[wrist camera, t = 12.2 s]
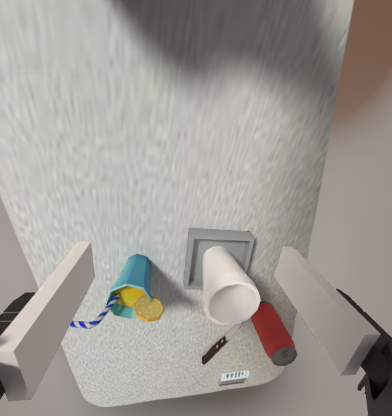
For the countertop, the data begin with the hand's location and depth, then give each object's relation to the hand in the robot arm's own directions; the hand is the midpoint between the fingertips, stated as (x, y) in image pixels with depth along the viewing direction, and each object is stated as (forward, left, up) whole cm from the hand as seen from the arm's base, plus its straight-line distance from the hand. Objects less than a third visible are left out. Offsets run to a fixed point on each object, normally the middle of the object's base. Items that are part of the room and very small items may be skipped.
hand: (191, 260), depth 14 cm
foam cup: (+17, +10, -26) cm, 32 cm away
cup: (+20, -8, -27) cm, 34 cm away
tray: (+17, +10, -26) cm, 33 cm away
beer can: (+34, +25, -27) cm, 50 cm away
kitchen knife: (+44, +16, -27) cm, 53 cm away
